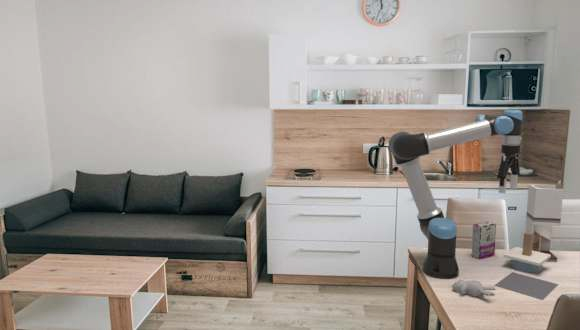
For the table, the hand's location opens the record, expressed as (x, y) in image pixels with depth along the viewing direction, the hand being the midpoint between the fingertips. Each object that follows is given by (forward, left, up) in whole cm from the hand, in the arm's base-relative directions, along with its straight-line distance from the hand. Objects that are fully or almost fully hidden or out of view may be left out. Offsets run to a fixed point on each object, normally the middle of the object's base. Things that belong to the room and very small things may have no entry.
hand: (507, 190), depth 197 cm
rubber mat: (-7, -26, -35) cm, 44 cm away
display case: (+22, +4, -35) cm, 41 cm away
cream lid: (+6, -8, -29) cm, 31 cm away
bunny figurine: (-32, -29, -35) cm, 55 cm away
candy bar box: (-4, +10, -35) cm, 37 cm away
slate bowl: (+6, -8, -35) cm, 36 cm away
